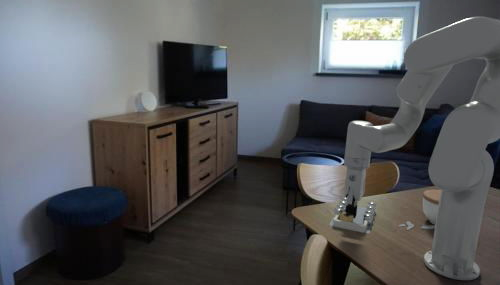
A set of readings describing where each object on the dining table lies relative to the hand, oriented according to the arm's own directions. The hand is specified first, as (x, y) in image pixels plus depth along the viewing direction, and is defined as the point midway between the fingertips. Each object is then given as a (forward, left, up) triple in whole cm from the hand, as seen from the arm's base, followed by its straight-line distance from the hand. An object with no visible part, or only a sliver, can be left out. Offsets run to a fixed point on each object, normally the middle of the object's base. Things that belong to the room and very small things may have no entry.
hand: (350, 216), depth 116 cm
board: (+3, -1, -2) cm, 4 cm away
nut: (-3, +1, -1) cm, 4 cm away
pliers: (+9, -19, -3) cm, 21 cm away
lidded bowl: (+15, -27, -3) cm, 31 cm away
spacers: (+6, -1, -1) cm, 6 cm away
